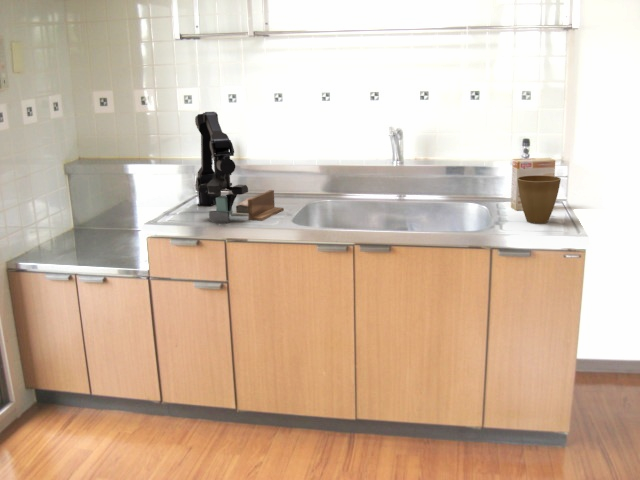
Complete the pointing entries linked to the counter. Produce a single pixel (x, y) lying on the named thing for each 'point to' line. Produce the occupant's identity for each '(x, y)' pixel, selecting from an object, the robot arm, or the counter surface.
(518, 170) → the coffeecake box
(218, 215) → the block
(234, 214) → the packaged product
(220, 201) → the pale teal block
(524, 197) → the plant pot
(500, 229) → the counter surface
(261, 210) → the walnut bookend
